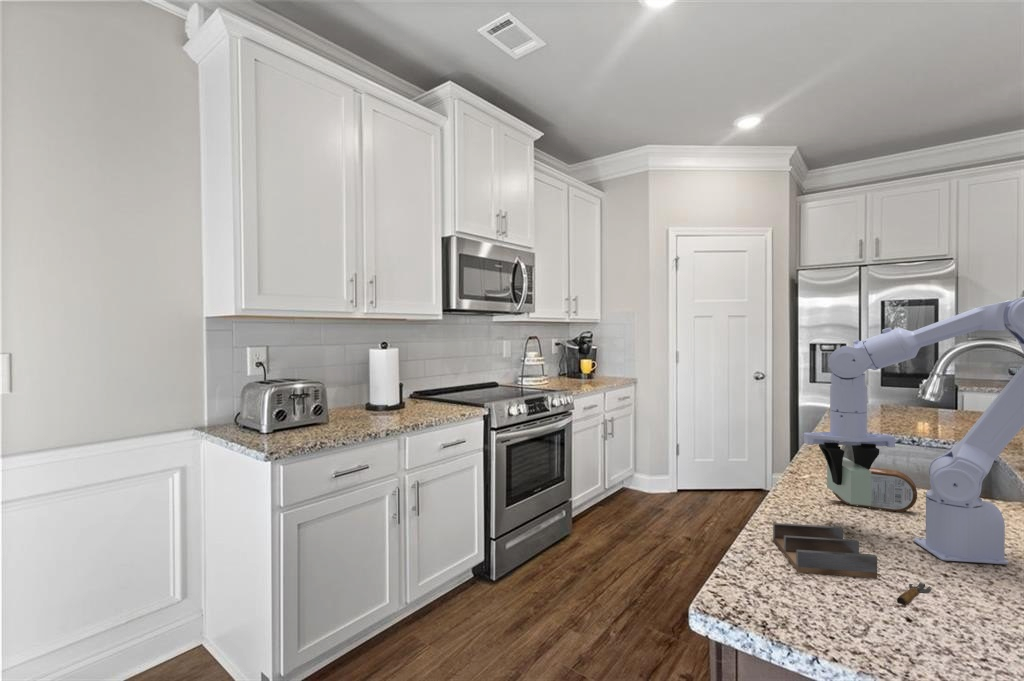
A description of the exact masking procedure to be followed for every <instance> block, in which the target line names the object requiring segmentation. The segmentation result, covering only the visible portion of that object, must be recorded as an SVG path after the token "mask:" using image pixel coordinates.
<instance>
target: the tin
mask: <svg viewBox="0 0 1024 681" xmlns="http://www.w3.org/2000/svg"><path fill="white" fill-rule="evenodd" d="M869 470H870V471H871V505H858V506H857V507H859V506H864V507H863V508H865V507H870V508H869V509H872V508H875V509H874V510H878V509H881V510H880V511H885V510H888V511H887V512H891V511H896V512H895V513H902V512H906V511H908V510H910V509H911V508H912V507H914V506H915V504H916V503H917V501H918V491H917V486H916V484H915V482H914V480H912V479H911V478H910V477H909V476H908V475H907V474H905V473H904V472H901V471H899V470H894V469H887V468H879V467H872V466H871V467H870V469H869ZM832 493H833V495H835V497H836V498H837V499H838V500H839V501H841V502H843V503H844V504H846V505H848V504H850V503H849V502H847V501H846V500H844V499H843V498H841V497H840V496H839V495H837V494H836V493H834V492H833V491H832ZM852 505H855V504H851V505H850V506H852Z"/></svg>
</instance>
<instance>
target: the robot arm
mask: <svg viewBox="0 0 1024 681" xmlns="http://www.w3.org/2000/svg"><path fill="white" fill-rule="evenodd" d="M977 331H997V332H1005V331H1008V332H1009V333H1010V334H1011V335H1012V336H1013V337H1014V338H1015V339H1016V340H1017V341H1018V344H1019V346H1020V348H1021V351H1022V353H1023V354H1024V296H1023V297H1017V298H1016V299H1013V300H1012V299H1009V300H1006V301H1000V302H996V303H991V304H987V305H982V306H978V307H976V308H971V309H970V310H967V311H965V312H961V313H958V314H956V315H953V316H950V317H947V318H945V319H942V320H939V321H936V322H934V323H931V324H928V325H926V326H923V327H921V328H918V329H914V330H907V329H905V328H901V327H896V328H893V329H892V328H891V327H886V328H884V329H882V330H881V333H880V334H877V335H874V336H871V337H868V338H866V339H865V338H864V339H862V340H860V339H859V338H858V339H855V340H853V341H852V344H853V346H852V345H851V346H850V345H841V346H840V347H839V348H836V349H835V350H834V351H833V352H832V353H830V356H829V357H828V358H829V359H828V367H829V369H830V371H831V374H830V382H831V384H830V386H829V415H830V416H829V431H820V432H819V431H818V432H803V443H804V444H806V445H809V446H814V445H818V446H819V449H820V450H821V453H822V454H823V455H824V456H823V457H824V458H825V461H826V464H827V463H828V466H829V469H830V472H831V476H832V481H833V482H834V483H835V484H837V485H841V483H842V461H843V457H844V454H845V450H843V449H842V448H841V446H851V448H852V453H853V462H854V463H856V464H858V465H860V466H862V467H864V468H866V469H868V470H869V469H870V467H872V465H873V463H874V462H875V460H876V459H877V458H878V457H879V455H880V449H879V448H878V447H887V448H896V447H895V446H896V436H893V435H890V434H882V433H881V434H880V433H868V387H867V385H866V373H865V372H866V371H867V370H871V371H872V370H873V371H877V370H881V369H885V368H887V367H890V366H892V365H895V364H899V363H903V362H904V361H908V360H911V359H912V360H913V359H915V358H916V357H917V354H918V353H919V351H920V349H921V348H923V347H926V346H930V345H933V344H936V343H939V342H943V341H946V340H950V339H953V338H956V337H960V336H962V335H967V334H970V333H972V332H977ZM1009 380H1010V381H1008V383H1007V384H1006V385H1005V386H1004V387H1003V389H1002V390H1001V391H1000V392H999V394H998V395H997V396H996V397H995V399H994V400H992V402H991V403H990V404H989V406H988V407H987V408H986V409H985V411H984V412H983V413H982V414H981V416H979V418H978V419H977V420H976V422H975V423H974V424H973V425H972V427H971V428H970V429H969V430H968V431H967V432H966V433H965V435H964V436H963V437H962V438H961V439H960V440H959V441H958V442H957V443H956V444H955V445H953V446H952V448H950V450H949V451H947V452H946V453H945V454H942V455H940V456H938V457H935V458H934V459H933V460H932V461H931V462H930V464H929V466H928V475H929V486H930V489H929V490H926V491H925V538H920V537H919V538H918V537H917V538H916V537H914V538H913V541H912V542H915V543H916V544H917V545H919V546H920V547H922V548H923V549H925V550H926V551H927V552H929V553H930V554H931V555H934V556H935V557H936V558H938V559H940V560H941V561H949V562H965V563H966V562H967V563H979V564H981V563H982V564H993V565H994V564H995V565H1009V561H1008V560H1007V559H1006V558H1005V554H1006V552H1005V551H1006V549H1005V548H1006V547H1005V546H1006V545H1005V544H1006V543H1005V542H1006V541H1005V538H1006V536H1005V535H1006V533H1005V532H1006V531H1005V530H1006V524H1005V520H1004V516H1003V513H1002V512H1001V510H1000V508H998V506H996V504H994V503H993V502H990V501H984V500H983V499H982V498H981V497H980V496H981V492H982V484H983V481H984V479H985V478H986V477H987V476H988V474H989V473H990V471H991V468H992V466H993V464H994V462H995V460H996V459H997V458H998V457H999V455H1000V454H1001V453H1002V452H1003V450H1004V449H1005V448H1006V447H1007V446H1008V445H1009V443H1011V442H1012V440H1013V439H1014V438H1015V436H1016V435H1017V434H1018V433H1019V432H1020V431H1021V430H1022V428H1024V363H1023V364H1022V366H1021V367H1020V368H1019V369H1018V370H1017V372H1016V373H1015V374H1014V375H1013V377H1012V378H1011V379H1009Z"/></svg>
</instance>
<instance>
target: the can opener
mask: <svg viewBox="0 0 1024 681" xmlns="http://www.w3.org/2000/svg"><path fill="white" fill-rule="evenodd" d="M908 586H909V587H910V588H909V589H908V590H907V591H905V592H903V593H901V594H900V595H898V597H897V599H896V602H897V604H901V605H903V606H906V605H907V604H909V603H911V602H912V600H913V599H914V598H916V597H917V596H918V595H919V593H923V594H930V593H931V591H932V590H933V589H932V587H931V585H930V586H928V587H926V583H924V582H922V581H920V582H919V583H918V584H917V586H914V584H912V583H909V584H908ZM923 587H926V588H925V589H924V588H923Z"/></svg>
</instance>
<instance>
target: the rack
mask: <svg viewBox="0 0 1024 681" xmlns="http://www.w3.org/2000/svg"><path fill="white" fill-rule="evenodd" d="M772 541H773V543H774V544H775V545H776V546H777V547H778V549H779V550H780V551H781V552H782V554H783V555H784V556H785V558H786V559H787V560H788V561H789V563H790V564H791V565H792V566H793V568H794V569H795V570H796V571H797V573H802V574H806V573H807V574H817V575H818V574H819V575H832V576H833V575H834V576H846V577H859V578H872V579H878V556H877V555H876V554H870V553H860V541H859V540H858V539H851V538H850V539H848V538H844V528H843V527H842V526H833V525H831V526H830V525H815V524H813V525H811V524H795V523H782V522H781V523H779V522H778V523H777V522H773V523H772Z"/></svg>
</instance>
